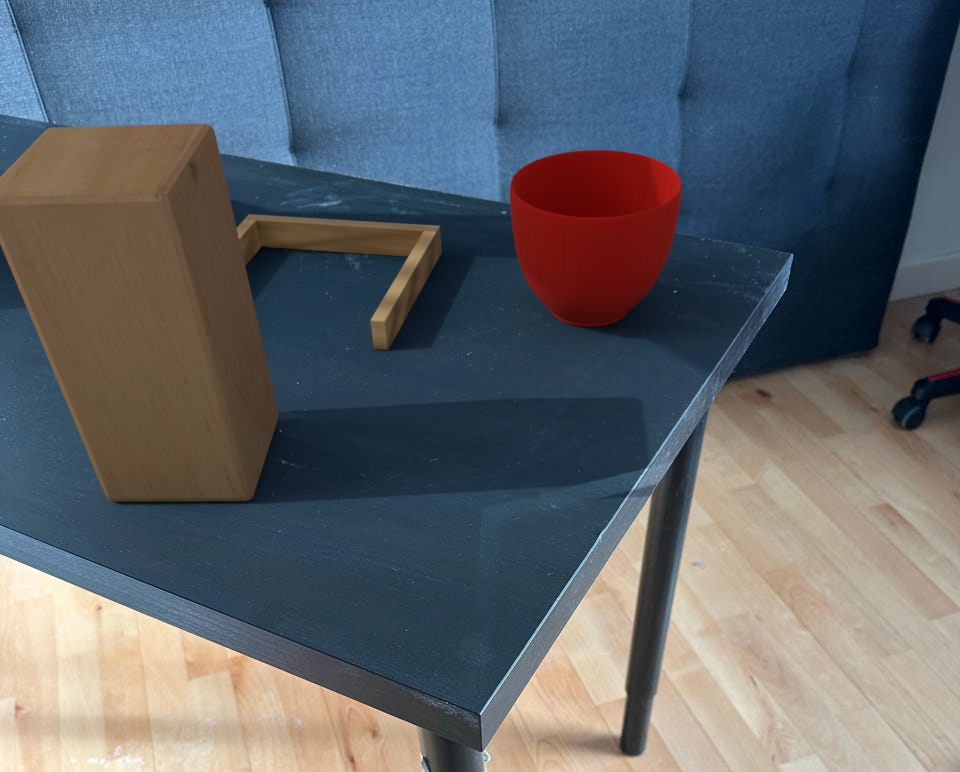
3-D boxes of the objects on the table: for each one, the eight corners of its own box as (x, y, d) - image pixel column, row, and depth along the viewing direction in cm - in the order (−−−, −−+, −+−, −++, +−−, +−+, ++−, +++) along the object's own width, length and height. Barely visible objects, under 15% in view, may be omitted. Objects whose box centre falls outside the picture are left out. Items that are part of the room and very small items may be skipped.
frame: (388, 350, 74) (384, 321, 72) (175, 332, 77) (167, 303, 75) (441, 252, 85) (440, 225, 84) (254, 240, 89) (248, 213, 87)
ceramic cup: (609, 241, 86) (617, 123, 78) (696, 328, 75) (714, 200, 67) (475, 267, 83) (470, 148, 76) (544, 361, 72) (546, 231, 65)
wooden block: (281, 417, 68) (214, 120, 54) (254, 504, 62) (168, 191, 47) (147, 418, 69) (45, 124, 54) (105, 504, 62) (-25, 195, 47)
